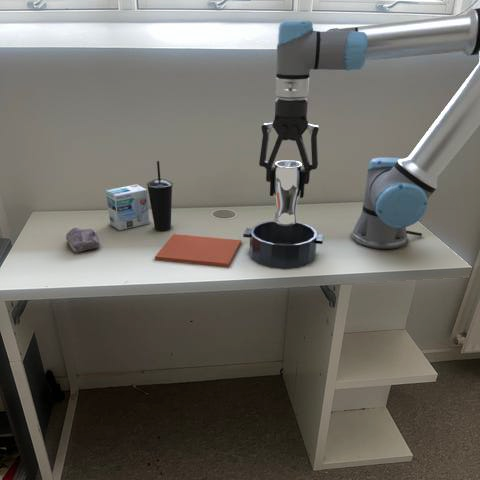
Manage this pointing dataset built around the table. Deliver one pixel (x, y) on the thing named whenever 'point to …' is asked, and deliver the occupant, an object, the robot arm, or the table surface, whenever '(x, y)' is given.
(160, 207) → the drinking cup
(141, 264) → the table surface
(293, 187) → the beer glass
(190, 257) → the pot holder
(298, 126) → the robot arm
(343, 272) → the table surface
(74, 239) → the rock
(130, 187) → the light bulb box
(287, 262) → the pot
